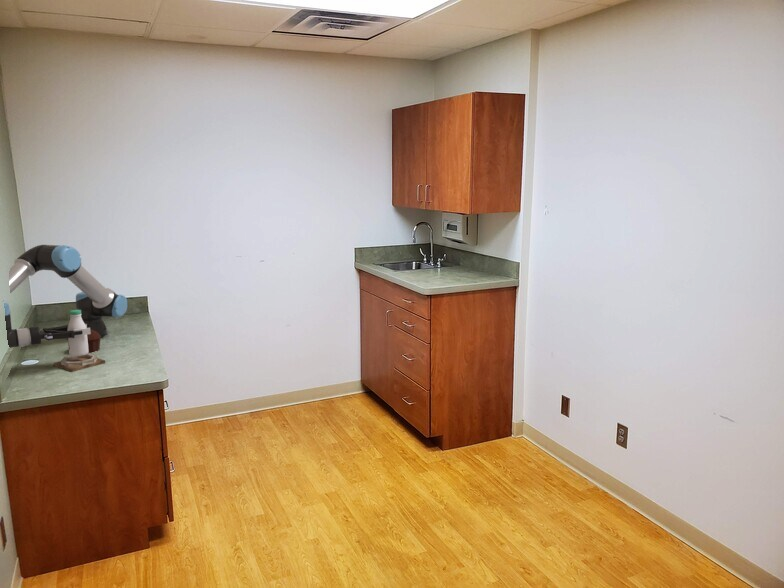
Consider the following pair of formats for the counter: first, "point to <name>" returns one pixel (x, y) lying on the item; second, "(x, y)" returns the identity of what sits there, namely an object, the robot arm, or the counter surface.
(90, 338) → the muffin
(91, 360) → the ring stand
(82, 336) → the milk bottle
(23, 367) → the counter surface
